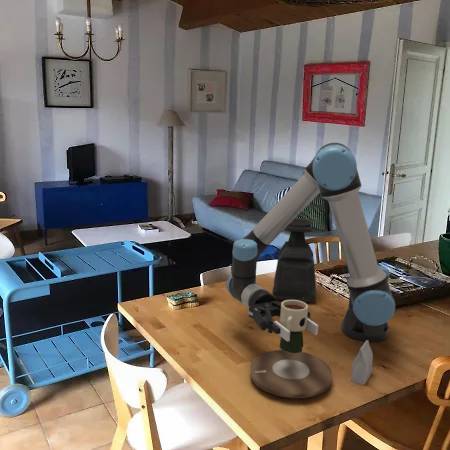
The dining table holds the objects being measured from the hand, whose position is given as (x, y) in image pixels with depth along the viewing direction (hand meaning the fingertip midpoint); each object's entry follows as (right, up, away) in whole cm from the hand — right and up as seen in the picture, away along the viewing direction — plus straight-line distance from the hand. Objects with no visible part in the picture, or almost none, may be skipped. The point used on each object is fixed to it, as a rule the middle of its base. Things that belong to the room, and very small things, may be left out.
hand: (302, 333), depth 126 cm
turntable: (-2, -13, +8) cm, 15 cm away
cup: (-14, +3, +77) cm, 78 cm away
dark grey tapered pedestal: (+7, 0, +67) cm, 68 cm away
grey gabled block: (+18, -15, +10) cm, 25 cm away
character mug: (-2, -6, +6) cm, 9 cm away
